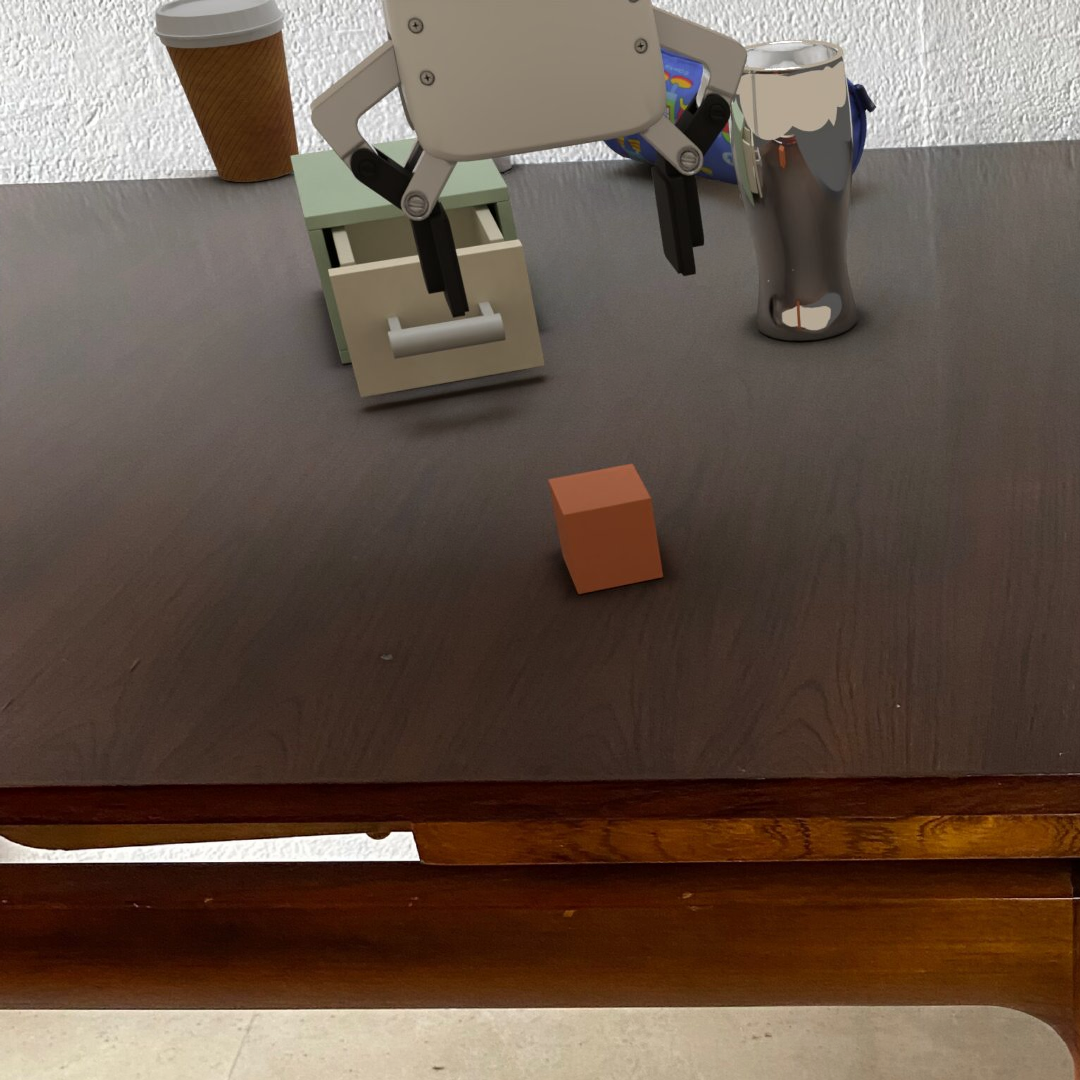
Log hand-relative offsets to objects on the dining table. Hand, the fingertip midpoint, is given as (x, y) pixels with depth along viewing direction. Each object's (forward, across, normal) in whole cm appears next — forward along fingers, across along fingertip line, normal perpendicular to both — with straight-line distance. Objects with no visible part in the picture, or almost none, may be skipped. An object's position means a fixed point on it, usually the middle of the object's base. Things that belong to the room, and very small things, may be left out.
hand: (570, 286), depth 73 cm
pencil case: (+13, -20, -56) cm, 61 cm away
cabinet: (+13, +4, -39) cm, 41 cm away
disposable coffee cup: (+13, +13, -78) cm, 80 cm away
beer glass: (+13, -17, -26) cm, 34 cm away
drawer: (+12, +5, -28) cm, 31 cm away
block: (+13, 0, 0) cm, 13 cm away
